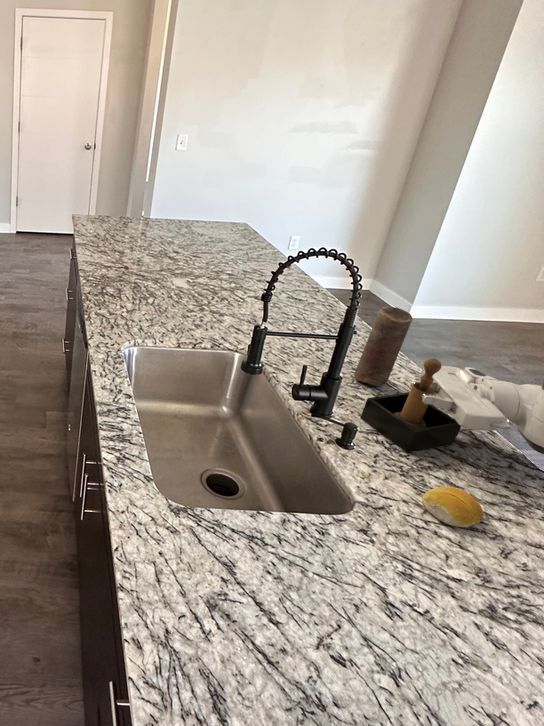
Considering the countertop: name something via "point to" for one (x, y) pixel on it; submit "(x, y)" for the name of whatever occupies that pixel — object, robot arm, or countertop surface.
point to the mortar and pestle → (419, 396)
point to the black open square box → (435, 435)
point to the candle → (383, 346)
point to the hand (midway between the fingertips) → (417, 391)
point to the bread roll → (453, 506)
